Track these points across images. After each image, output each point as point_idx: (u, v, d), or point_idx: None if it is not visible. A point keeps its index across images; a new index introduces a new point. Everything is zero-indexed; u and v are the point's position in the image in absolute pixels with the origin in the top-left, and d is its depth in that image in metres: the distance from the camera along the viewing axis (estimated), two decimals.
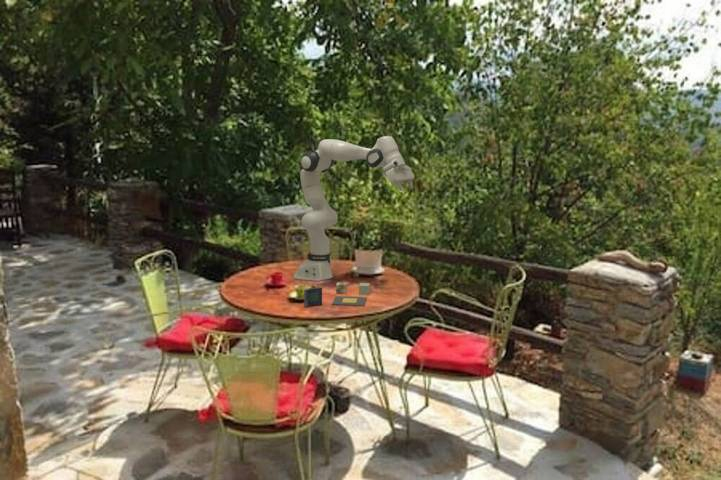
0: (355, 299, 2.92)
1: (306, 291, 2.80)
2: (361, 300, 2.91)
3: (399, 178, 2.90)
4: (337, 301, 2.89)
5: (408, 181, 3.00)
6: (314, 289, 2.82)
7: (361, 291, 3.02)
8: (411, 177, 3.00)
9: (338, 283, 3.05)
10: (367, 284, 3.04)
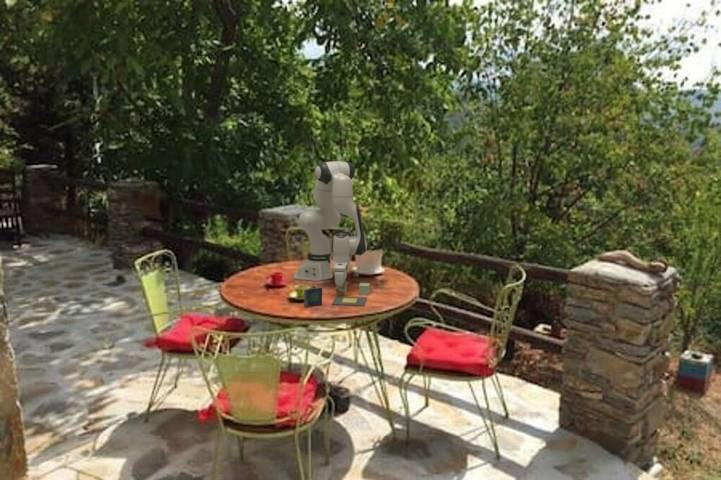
0: (355, 299, 2.92)
1: (306, 291, 2.80)
2: (361, 300, 2.91)
3: (343, 281, 2.99)
4: (337, 301, 2.89)
5: None
6: (314, 289, 2.82)
7: (361, 291, 3.02)
8: (346, 276, 3.10)
9: None
10: (367, 284, 3.04)
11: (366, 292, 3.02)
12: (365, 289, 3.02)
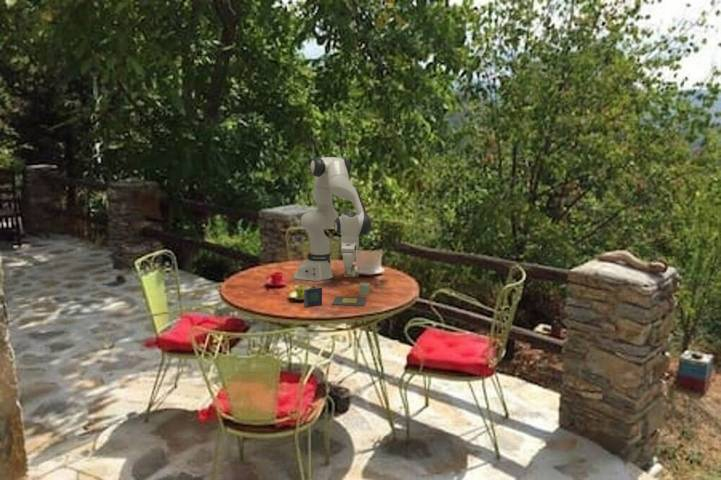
0: (355, 299, 2.92)
1: (306, 291, 2.80)
2: (361, 300, 2.91)
3: (352, 263, 2.81)
4: (337, 301, 2.89)
5: None
6: (314, 289, 2.82)
7: (361, 291, 3.02)
8: (354, 258, 2.93)
9: None
10: (367, 284, 3.04)
11: (366, 292, 3.02)
12: (365, 289, 3.02)
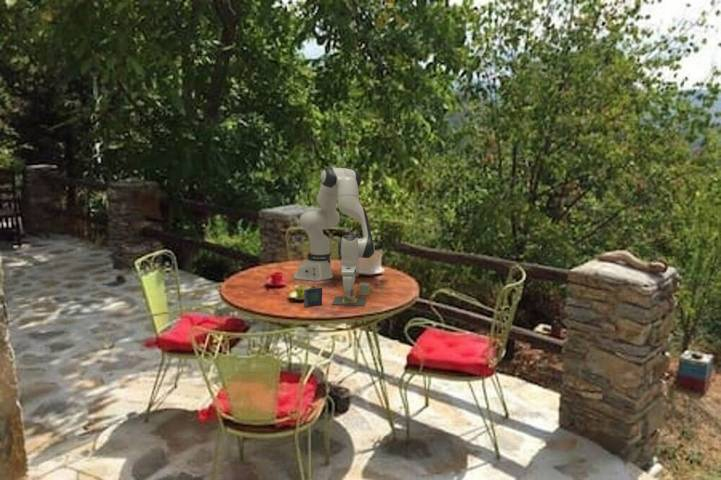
0: (355, 299, 2.92)
1: (306, 291, 2.80)
2: (361, 300, 2.91)
3: None
4: (337, 301, 2.89)
5: None
6: (314, 289, 2.82)
7: (361, 291, 3.02)
8: (354, 280, 2.95)
9: None
10: (367, 284, 3.04)
11: (366, 292, 3.02)
12: (365, 289, 3.02)
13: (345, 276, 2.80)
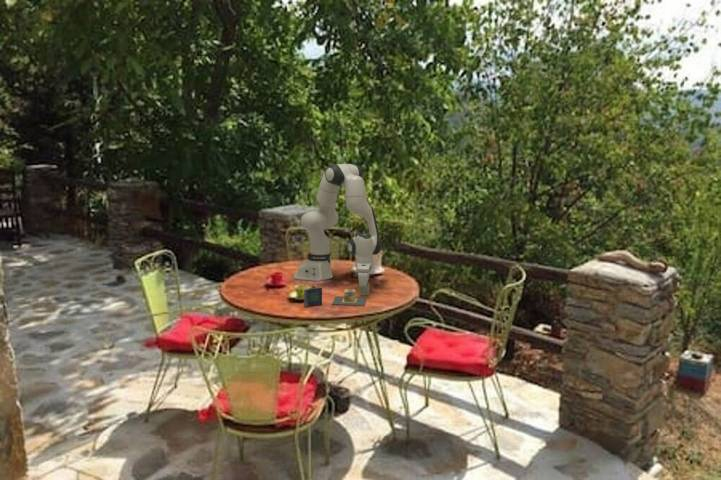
0: (355, 299, 2.92)
1: (306, 291, 2.80)
2: (361, 300, 2.91)
3: None
4: (337, 301, 2.89)
5: None
6: (314, 289, 2.82)
7: (361, 291, 3.02)
8: None
9: (346, 290, 2.90)
10: (367, 284, 3.04)
11: (366, 292, 3.02)
12: None
13: (360, 272, 2.94)
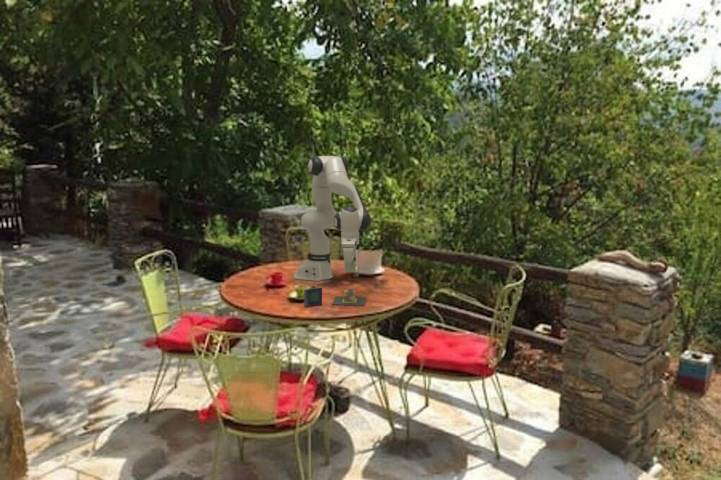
0: (355, 299, 2.92)
1: (306, 291, 2.80)
2: (361, 300, 2.91)
3: (352, 258, 2.81)
4: (337, 301, 2.89)
5: None
6: (314, 289, 2.82)
7: (347, 268, 2.85)
8: None
9: (346, 290, 2.90)
10: (353, 261, 2.87)
11: (352, 269, 2.85)
12: (351, 266, 2.85)
13: (345, 248, 2.77)
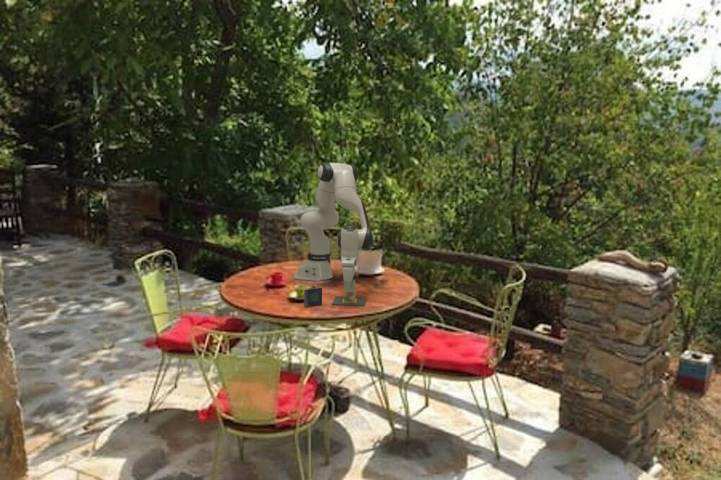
0: (355, 299, 2.92)
1: (306, 291, 2.80)
2: (361, 300, 2.91)
3: (352, 277, 2.82)
4: (337, 301, 2.89)
5: None
6: (314, 289, 2.82)
7: None
8: (354, 272, 2.94)
9: None
10: (352, 280, 2.89)
11: (351, 289, 2.87)
12: None
13: (345, 267, 2.79)
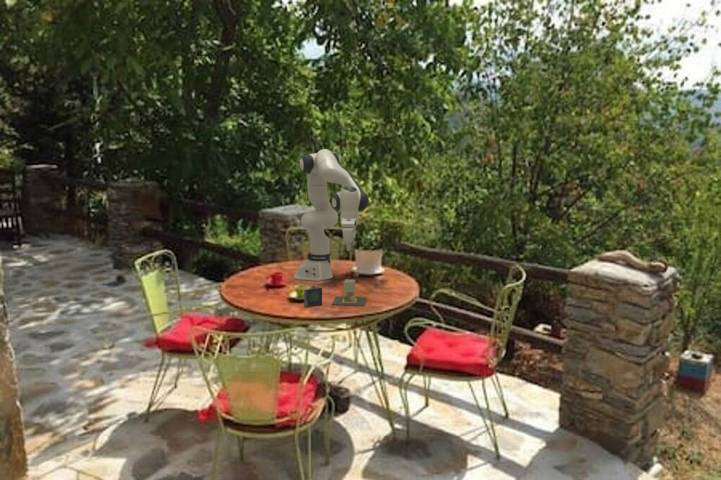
0: (355, 299, 2.92)
1: (306, 291, 2.80)
2: (361, 300, 2.91)
3: (352, 239, 2.79)
4: (337, 301, 2.89)
5: None
6: (314, 289, 2.82)
7: (347, 288, 2.87)
8: (354, 235, 2.90)
9: None
10: (352, 280, 2.89)
11: (351, 289, 2.87)
12: (350, 286, 2.87)
13: (345, 228, 2.75)
